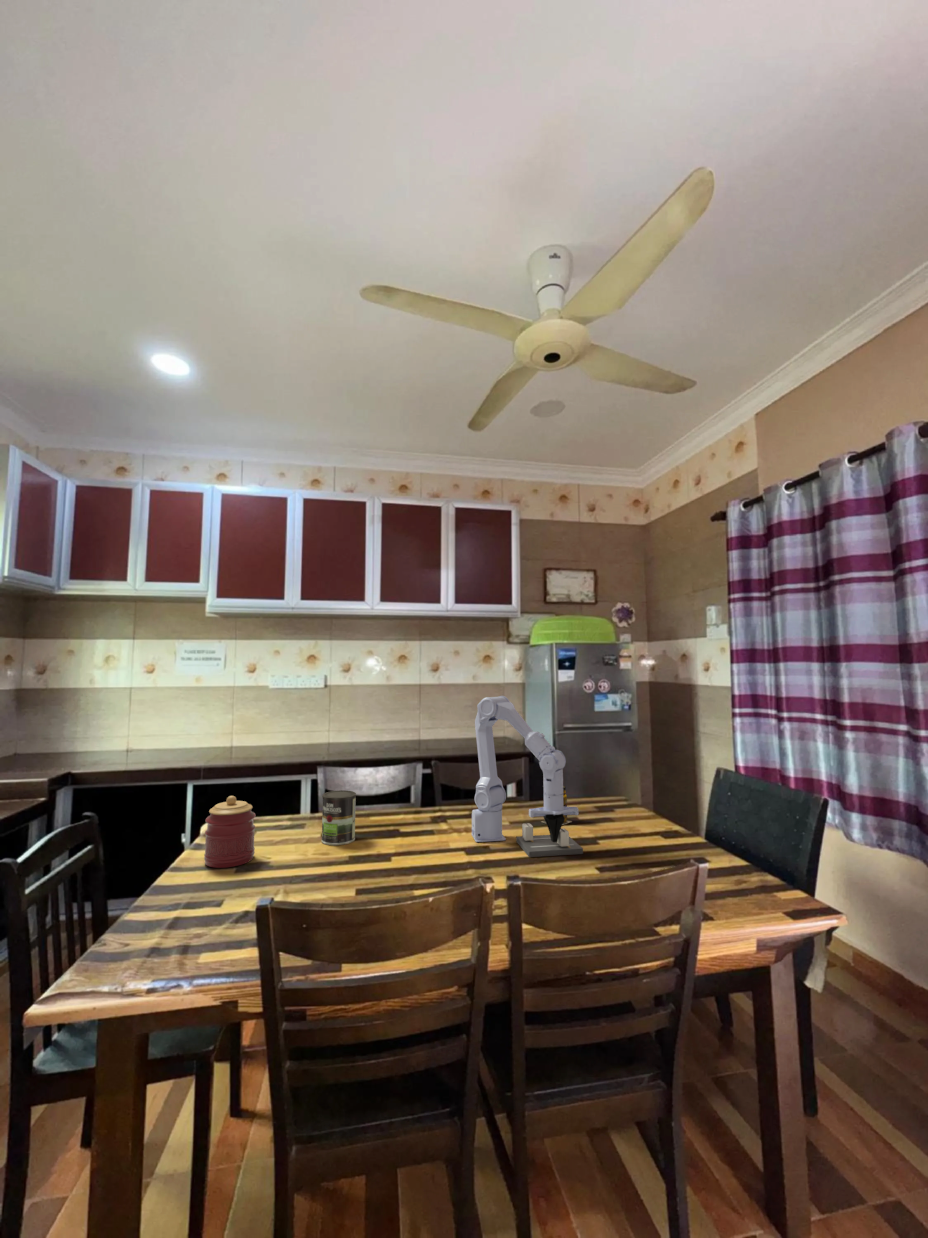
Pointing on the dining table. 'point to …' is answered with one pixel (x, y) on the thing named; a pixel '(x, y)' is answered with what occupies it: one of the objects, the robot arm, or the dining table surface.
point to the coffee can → (338, 817)
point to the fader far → (527, 831)
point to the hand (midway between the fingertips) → (554, 841)
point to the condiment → (563, 806)
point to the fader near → (563, 837)
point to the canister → (229, 834)
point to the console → (547, 846)
